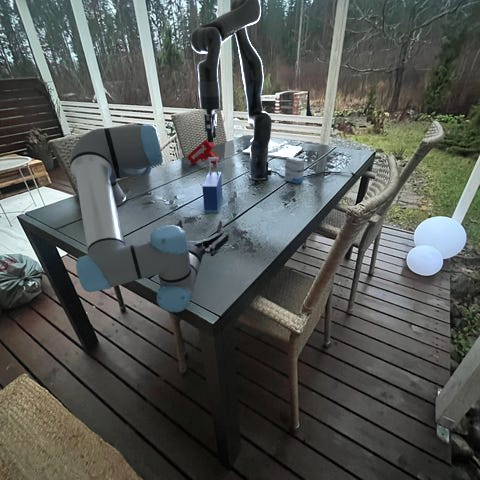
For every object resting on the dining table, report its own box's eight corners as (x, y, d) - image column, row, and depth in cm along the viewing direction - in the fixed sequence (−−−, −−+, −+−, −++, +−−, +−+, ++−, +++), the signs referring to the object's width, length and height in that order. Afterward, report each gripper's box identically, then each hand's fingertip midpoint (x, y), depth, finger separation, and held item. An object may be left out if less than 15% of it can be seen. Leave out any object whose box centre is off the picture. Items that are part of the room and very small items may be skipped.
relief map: (291, 159, 177) (291, 151, 174) (243, 153, 190) (243, 145, 187) (302, 149, 197) (303, 142, 194) (258, 144, 211) (258, 137, 208)
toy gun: (224, 159, 165) (208, 138, 162) (221, 161, 162) (205, 139, 158) (204, 174, 175) (189, 154, 172) (201, 176, 172) (186, 156, 168)
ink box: (302, 181, 142) (305, 159, 136) (297, 184, 139) (300, 161, 133) (289, 177, 147) (291, 156, 141) (284, 180, 144) (285, 158, 138)
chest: (210, 197, 127) (208, 175, 121) (222, 197, 127) (221, 175, 121) (204, 212, 113) (202, 189, 107) (217, 213, 113) (216, 189, 107)
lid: (209, 174, 122) (207, 155, 117) (221, 174, 121) (220, 155, 117) (202, 188, 107) (200, 167, 103) (216, 189, 107) (215, 167, 103)
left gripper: (144, 271, 77) (166, 232, 94) (232, 274, 75) (237, 234, 93) (139, 249, 73) (162, 213, 90) (231, 252, 71) (237, 215, 89)
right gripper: (202, 93, 108) (205, 136, 116) (195, 96, 96) (199, 144, 104) (221, 93, 107) (223, 136, 116) (216, 96, 95) (219, 144, 104)
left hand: (200, 224), depth 92 cm, fingers open, 13 cm apart
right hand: (212, 139), depth 110 cm, fingers open, 8 cm apart
